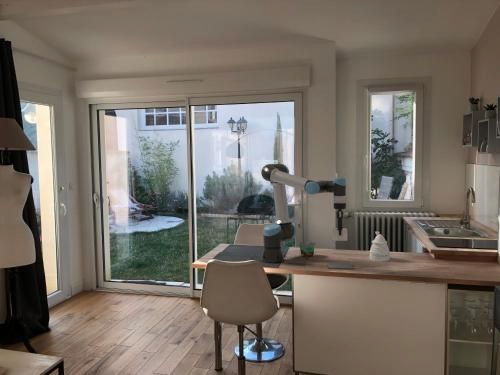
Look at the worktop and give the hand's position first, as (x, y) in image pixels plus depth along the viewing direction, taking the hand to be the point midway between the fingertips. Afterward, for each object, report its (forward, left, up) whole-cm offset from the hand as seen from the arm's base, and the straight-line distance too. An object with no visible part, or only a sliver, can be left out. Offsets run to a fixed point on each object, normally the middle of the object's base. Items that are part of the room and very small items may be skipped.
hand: (339, 239), depth 263 cm
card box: (0, 0, 0) cm, 0 cm away
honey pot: (+27, +22, -17) cm, 39 cm away
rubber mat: (0, 0, -17) cm, 17 cm away
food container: (-20, +25, -17) cm, 36 cm away
